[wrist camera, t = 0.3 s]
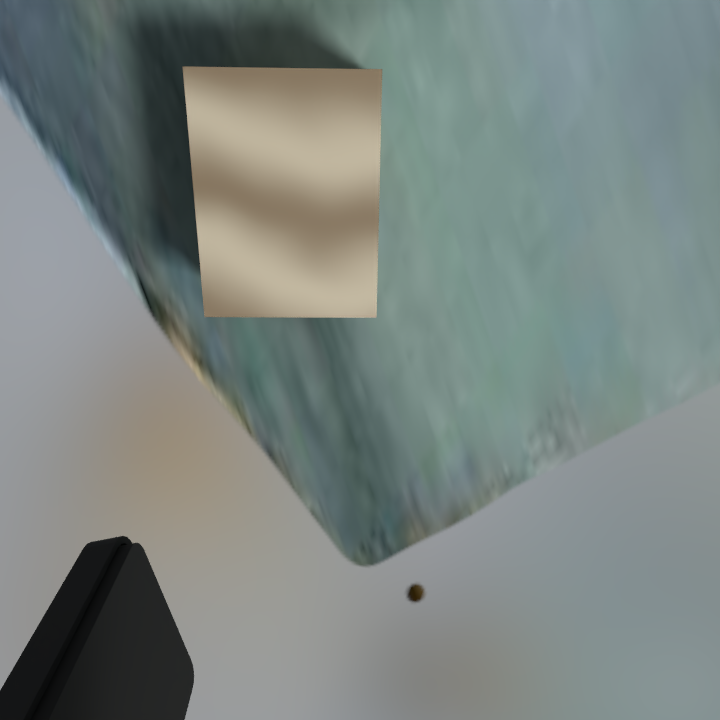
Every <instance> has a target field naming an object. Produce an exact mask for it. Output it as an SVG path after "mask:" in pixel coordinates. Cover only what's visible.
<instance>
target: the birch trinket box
mask: <svg viewBox="0 0 720 720" xmlns="http://www.w3.org/2000/svg"><path fill="white" fill-rule="evenodd" d="M183 77H184V88H185V99H186V111H187V122H188V133H189V145H190V156H191V168H192V179H193V190H194V202H195V213H196V224H197V236H198V247H199V258H200V270H201V281H202V293H203V304H204V315H205V317H351V318H376V313H377V270H378V226H379V183H380V139H381V96H382V69H323V68H251V67H183Z"/></svg>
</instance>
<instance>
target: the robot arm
mask: <svg viewBox="0 0 720 720" xmlns="http://www.w3.org/2000/svg"><path fill="white" fill-rule="evenodd" d="M193 683H194V671H193V664H192V662H191V659H190V656H189V654H188V652H187V649H186V647H185V645H184V642H183V640H182V638H181V635H180V633H179V631H178V628H177V626H176V624H175V621H174V619H173V617H172V614H171V612H170V610H169V607H168V605H167V603H166V600H165V598H164V596H163V593H162V591H161V589H160V586H159V584H158V582H157V579H156V577H155V575H154V572H153V570H152V568H151V565H150V563H149V561H148V558H147V556H146V554H145V551H144V549H143V547H142V546H141V545H140V544H139V543H133V544H132V542H131V541H130V539H128V538H127V537H125V536H121V537H115V538H110V539H105V540H100V541H95V542H90V543H88V544H87V545H86V546H85V547H84V548H83V550H82V552H81V553H80V555H79V557H78V558H77V560H76V562H75V564H74V566H73V567H72V569H71V570H70V572H69V574H68V576H67V577H66V579H65V581H64V582H63V584H62V586H61V588H60V589H59V591H58V593H57V594H56V596H55V598H54V600H53V601H52V603H51V605H50V606H49V608H48V610H47V611H46V613H45V615H44V617H43V618H42V620H41V622H40V623H39V625H38V627H37V629H36V630H35V632H34V634H33V635H32V637H31V639H30V641H29V642H28V644H27V646H26V647H25V649H24V651H23V652H22V654H21V656H20V658H19V659H18V661H17V663H16V665H15V666H14V668H13V670H12V672H11V673H10V675H9V676H8V678H7V680H6V682H5V683H4V685H3V687H2V688H1V690H0V720H184V719H185V715H186V711H187V708H188V704H189V700H190V696H191V692H192V688H193Z"/></svg>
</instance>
